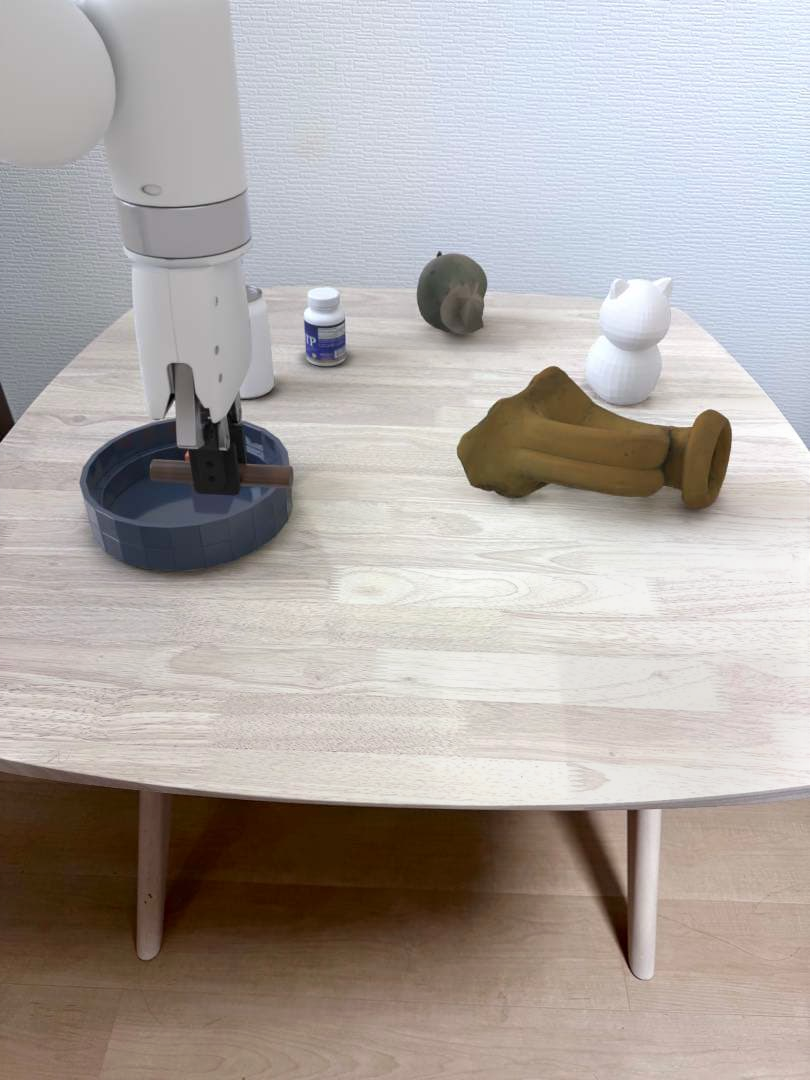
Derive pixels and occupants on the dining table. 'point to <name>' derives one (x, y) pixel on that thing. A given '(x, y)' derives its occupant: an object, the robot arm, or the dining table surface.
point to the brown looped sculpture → (591, 447)
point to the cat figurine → (630, 340)
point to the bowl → (178, 503)
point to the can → (258, 348)
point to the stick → (248, 474)
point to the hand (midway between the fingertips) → (222, 481)
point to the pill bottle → (324, 328)
